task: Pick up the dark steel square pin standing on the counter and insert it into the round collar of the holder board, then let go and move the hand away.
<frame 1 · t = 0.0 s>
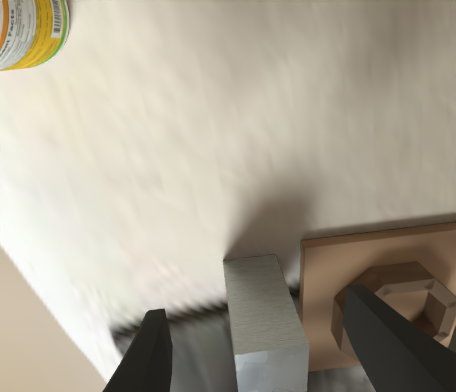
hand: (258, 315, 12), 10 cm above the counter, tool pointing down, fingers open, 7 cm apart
supplement bottle: (17, 9, 16), on the counter
holder board: (378, 298, 27), on the counter
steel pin: (250, 277, 24), on the counter
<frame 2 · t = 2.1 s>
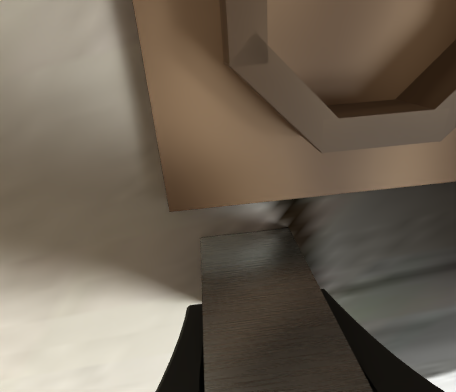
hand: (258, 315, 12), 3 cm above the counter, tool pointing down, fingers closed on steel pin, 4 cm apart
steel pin: (246, 268, 15), on the counter, touching gripper
when the fingers open (5 cm above the counter, at t = 6.7 s): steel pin stays where it is, resting on holder board.
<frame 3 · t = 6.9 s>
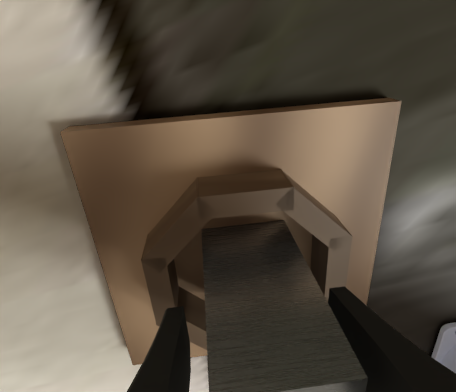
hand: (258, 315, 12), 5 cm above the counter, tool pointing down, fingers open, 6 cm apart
holder board: (241, 244, 17), on the counter
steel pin: (244, 258, 16), point 1 cm above the counter, touching holder board
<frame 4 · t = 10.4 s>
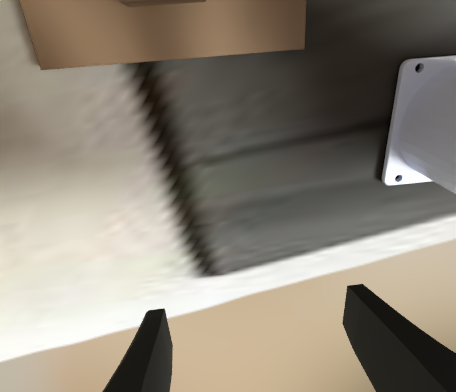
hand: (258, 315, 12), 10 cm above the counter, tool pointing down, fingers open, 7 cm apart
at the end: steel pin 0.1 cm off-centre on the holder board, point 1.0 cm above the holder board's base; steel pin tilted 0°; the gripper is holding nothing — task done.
